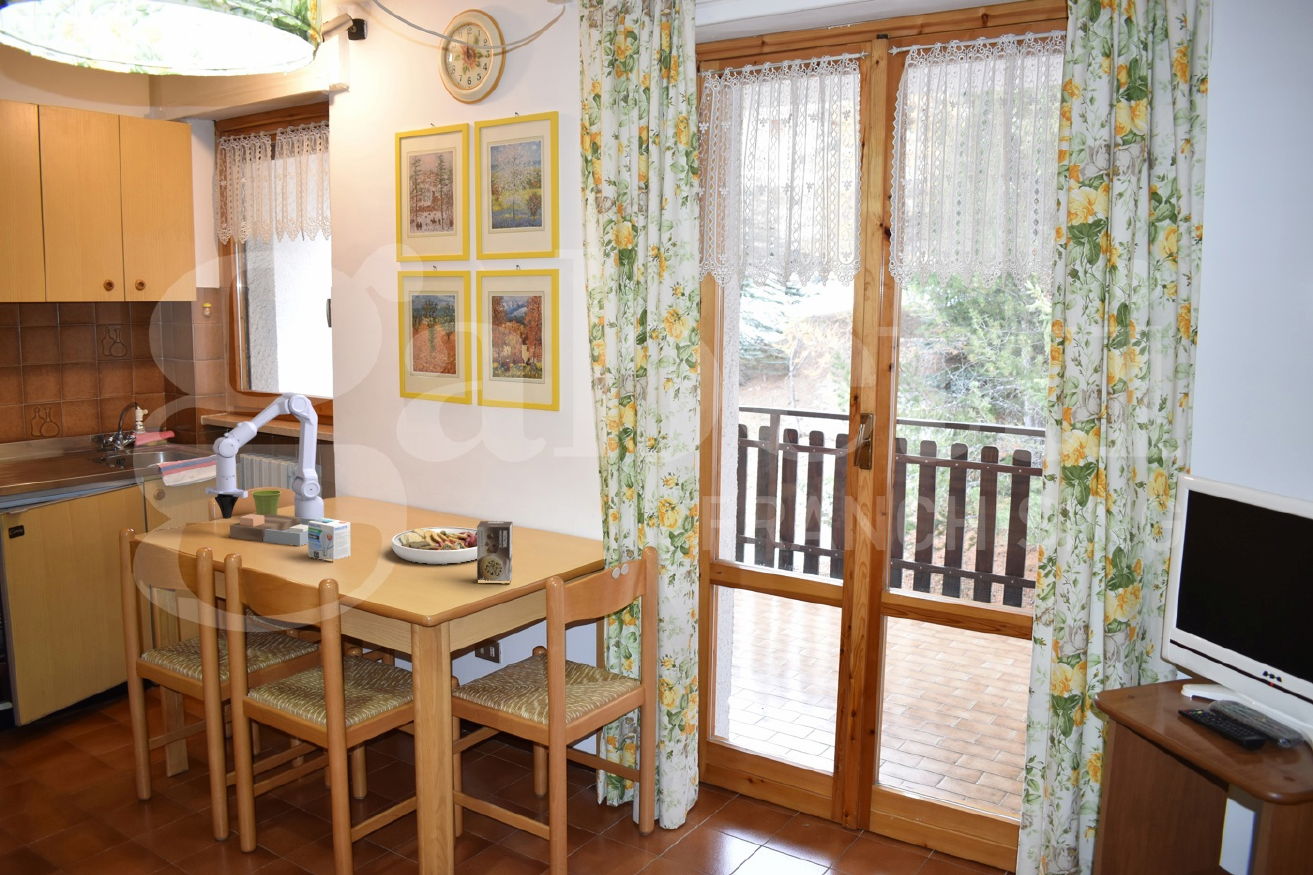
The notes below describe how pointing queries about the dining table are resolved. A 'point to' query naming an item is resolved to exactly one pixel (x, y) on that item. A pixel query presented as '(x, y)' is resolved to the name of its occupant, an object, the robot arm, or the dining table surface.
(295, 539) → the box
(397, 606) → the dining table surface
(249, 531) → the dark brown flat block
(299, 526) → the cream tile
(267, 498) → the plant pot
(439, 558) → the bowl
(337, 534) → the light bulb box
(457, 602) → the dining table surface
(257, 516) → the terracotta tile
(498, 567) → the coffee box
